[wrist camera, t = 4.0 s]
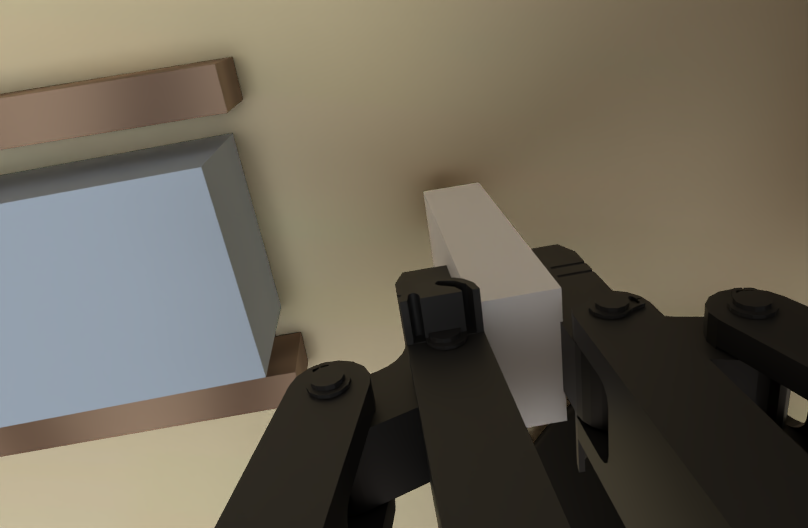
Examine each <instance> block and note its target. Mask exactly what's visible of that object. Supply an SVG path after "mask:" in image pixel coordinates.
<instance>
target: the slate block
mask: <svg viewBox="0 0 808 528" xmlns="http://www.w3.org/2000/svg"><path fill="white" fill-rule="evenodd" d="M280 310H281V304H280V301H279V297H278V294H277V290H276V286H275V283H274V279H273V276H272V272H271V268H270V265H269V261H268V258H267V254H266V251H265V247H264V243H263V240H262V236H261V233H260V229H259V226H258V222H257V218H256V215H255V211H254V208H253V204H252V201H251V197H250V193H249V190H248V186H247V183H246V179H245V175H244V172H243V168H242V165H241V161H240V158H239V154H238V150H237V147H236V143H235V140H234V136H233V133H230V134H224V135H219V136H213V137H208V138H202V139H197V140H191V141H186V142H180V143H175V144H169V145H164V146H158V147H153V148H147V149H142V150H136V151H131V152H125V153H120V154H114V155H109V156H103V157H98V158H92V159H87V160H81V161H76V162H70V163H65V164H59V165H54V166H48V167H43V168H37V169H32V170H26V171H21V172H15V173H10V174H4V175H0V428H1V427H7V426H12V425H17V424H22V423H28V422H33V421H38V420H43V419H49V418H54V417H59V416H64V415H70V414H75V413H80V412H85V411H91V410H96V409H101V408H106V407H112V406H117V405H122V404H127V403H133V402H138V401H143V400H149V399H154V398H159V397H164V396H170V395H175V394H180V393H185V392H191V391H196V390H201V389H206V388H212V387H217V386H222V385H227V384H233V383H238V382H243V381H248V380H254V379H259V378H264V377H266V374H267V370H268V365H269V360H270V356H271V351H272V347H273V342H274V337H275V333H276V328H277V323H278V319H279V314H280Z"/></svg>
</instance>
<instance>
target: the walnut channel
mask: <svg viewBox="0 0 808 528" xmlns="http://www.w3.org/2000/svg"><path fill="white" fill-rule="evenodd" d="M242 100H243V98H242V94H241V90H240V86H239V82H238V78H237V74H236V70H235V66H234V62H233V58H232V57H228V58H222V59H216V60H210V61H203V62H197V63H191V64H185V65H178V66H172V67H166V68H160V69H154V70H147V71H141V72H135V73H129V74H122V75H116V76H110V77H104V78H97V79H91V80H85V81H79V82H73V83H66V84H60V85H54V86H48V87H41V88H35V89H29V90H23V91H17V92H10V93H4V94H0V150H2V149H8V148H14V147H20V146H26V145H32V144H38V143H45V142H51V141H57V140H63V139H69V138H75V137H81V136H88V135H94V134H100V133H106V132H112V131H118V130H124V129H131V128H137V127H143V126H149V125H155V124H161V123H167V122H174V121H180V120H186V119H192V118H198V117H204V116H210V115H217V114H223V113H228V112H229V111H230V110H231V109H232V108H233V107H235V106H236V105H237V104H238V103H239V102H240V101H242ZM307 366H308V359H307V355H306V351H305V347H304V343H303V339H302V335H301V332H299V333H293V334H288V335H282V336H276V337H274V342H273V347H272V351H271V356H270V360H269V365H268V370H267V374H266V377H264V378H259V379H254V380H248V381H243V382H238V383H233V384H227V385H222V386H217V387H212V388H206V389H201V390H196V391H191V392H185V393H180V394H175V395H170V396H164V397H159V398H154V399H149V400H143V401H138V402H133V403H127V404H122V405H117V406H112V407H106V408H101V409H96V410H91V411H85V412H80V413H75V414H70V415H64V416H59V417H54V418H49V419H43V420H38V421H33V422H28V423H22V424H17V425H12V426H7V427H1V428H0V457H2V456H8V455H13V454H19V453H25V452H30V451H36V450H42V449H47V448H53V447H59V446H65V445H70V444H76V443H82V442H87V441H93V440H99V439H104V438H110V437H116V436H121V435H127V434H133V433H139V432H144V431H150V430H156V429H161V428H167V427H173V426H178V425H184V424H190V423H195V422H201V421H207V420H212V419H218V418H224V417H230V416H235V415H241V414H247V413H252V412H258V411H264V410H269V409H275V408H278V406H279V404H280V402H281V400H282V398H283V396H284V394H285V392H286V390H287V389H288V387H289V385H290V384H291V383H292V382H293V380H294V379H295V378H296V377H297V376H298V375H300V374H301V373H303V372H304V371H306V370H307Z"/></svg>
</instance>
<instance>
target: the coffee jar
mask: <svg viewBox="0 0 808 528" xmlns="http://www.w3.org/2000/svg"><path fill="white" fill-rule="evenodd" d="M534 446H535V448H536V450H537V453H538V455H539V457H540V459H541V462H542V464H543V466H544V468H545V471H546V473H547V475H548V477H549V480H550V482H551V484H552V487H553V489H554V491H555V493H556V496H557V498H558V500H559V502H560V505H561V507H562V509H563V512H564V514H565V516H566V518H567V521H568V523H569V525H570V527H571V528H626V527H625V525H624V523H623V521H622V519H621V518H620V516H619V514H618V512H617V510H616V508H615V507H614V505H613V503H612V501H611V499H610V497H609V495H608V494H607V492H606V490H605V488H604V486H603V484H602V482H601V481H600V479H599V477H598V475H597V473H596V471H595V470H594V468H593V466H592V464H591V462H590V460H589V458H588V457H586V459H585V472H580V473H579V470H578V465H577V450H576V422H575V410H574V408H573V406H572V405H569V406H568V407H567V421H562V422H556V423H551V424H549V425H548V426H547V427H546V429H545V430H544V431H543V432H542V433H541V435H540V436H539V437H538V438H537V440H536V441H535V443H534Z"/></svg>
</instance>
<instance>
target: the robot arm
mask: <svg viewBox="0 0 808 528" xmlns="http://www.w3.org/2000/svg"><path fill="white" fill-rule="evenodd" d="M423 193H424V200H425V208H426V215H427V222H428V229H429V237H430V244H431V251H432V259H433V266H434V267H433V268H427V269H421V270H415V271H409V272H403V273H402V274H401V276H400V277H399V279H398V280H397V282H396V284H395V286H396V292H397V298H398V304H399V310H400V316H401V322H402V328H403V334H404V340H405V349H404V351H403V353H402V355H401V356H400V357H399V358H398V359H397V360H396V361H395V362H393V363H392V364H390V365H389V366H388V367H385V368H383V369H381V370H379V371H377V372H374V373H372V374H370V373H369V372H368V371H367V370H366V368H365V367H364V366H362V365H360V364H357V363H355V362H350V361H333V362H325V363H321V364H319V365H316V366H313V367H311V368H309V369H307V370H306V371H304V372H303V373H301V374H300V375H298V376H297V377H296V378H295V379H294V380H293V382H292V383H291V384H290V385H289V387H288V389H287V390H286V392H285V394H284V396H283V398H282V400H281V402H280V404H279V406H278V408H277V409H276V411H275V413H274V415H273V417H272V419H271V421H270V423H269V425H268V427H267V429H266V430H265V432H264V434H263V436H262V438H261V440H260V442H259V444H258V446H257V448H256V450H255V451H254V453H253V455H252V457H251V459H250V461H249V463H248V465H247V467H246V469H245V471H244V472H243V474H242V476H241V478H240V480H239V482H238V484H237V486H236V488H235V490H234V492H233V493H232V495H231V497H230V499H229V501H228V503H227V505H226V507H225V509H224V511H223V513H222V514H221V516H220V518H219V520H218V522H217V524H216V526H215V528H392V525H393V520H394V515H395V498H397V497H399V496H401V495H403V494H405V493H408V492H410V491H412V490H414V489H416V488H418V487H420V486H422V485H424V484H427V483H429V482H430V484H431V490H432V495H433V501H434V506H435V511H436V517H437V522H438V528H571V527H570V525H569V523H568V521H567V518H566V516H565V514H564V512H563V509H562V507H561V505H560V502H559V500H558V498H557V496H556V493H555V491H554V489H553V487H552V484H551V482H550V480H549V477H548V475H547V473H546V471H545V468H544V466H543V464H542V462H541V459H540V457H539V455H538V453H537V450H536V448H535V446H534V443H533V441H532V439H531V437H530V434H529V432H528V430H527V428H529V427H534V426H540V425H545V424H551V423H556V422H562V421H567V406H566V396H567V398H568V399H569V401H570V403H571V405H572V406H573V408H574V410H575V422H576V450H577V465H578V470H579V473H580V472H585V459H586V457H588V458H589V460H590V462H591V464H592V466H593V468H594V470H595V471H596V473H597V475H598V477H599V479H600V481H601V482H602V484H603V486H604V488H605V490H606V492H607V494H608V495H609V497H610V499H611V501H612V503H613V505H614V507H615V508H616V510H617V512H618V514H619V516H620V518H621V519H622V521H623V523H624V525H625V527H626V528H808V414H807V419H806V422H805V423H801V422H799V421H797V420H795V419H793V418H792V417H790V416H788V415H787V412H788V405H789V398H790V391H793V392H795V393H796V394H798V395H800V396H801V397H803V398H805V399H807V400H808V307H807V306H805V305H803V304H801V303H798V302H796V301H794V300H791V299H789V298H787V297H785V296H781V295H778V294H775V293H772V292H769V291H763V290H757V289H755V288H744V289H742V288H734V289H730V290H725V291H720V292H717V293H716V294H714V295H712V296H710V297H709V298H708V300H707V302H706V303H705V314H704V317H669V316H664V315H663V314H662V313H661V312H660V311H659V310H658V309H656V308H655V307H654V306H653V305H652V304H651V303H650V302H649V301H647V300H646V299H644V298H642V297H641V296H638V295H635V294H631V293H628V292H619V291H612V290H611V289H610V288H609V287H608V286H607V285H606V284H605V282H604V281H603V280H602V279H601V278H600V277H599V276H598V275H597V274H596V273H595V272H592V269H591V268H590V267H589V266H588V265H587V264H586V263H584V261H583V259H582V258H581V257H580V256H579V255H578V254H577V253H576V252H575V251H573V250H570V249H568V248H565V247H563V246H560V245H558V244H556V245H551V246H545V247H539V248H533V249H531V248H530V247H529V246H528V245H527V243H526V242H525V241H524V239H523V238H522V237H521V236H520V234H519V233H518V232H517V230H516V229H515V228H514V227H513V225H512V224H511V223H510V222H509V220H508V219H507V218H506V216H505V215H504V214H503V213H502V211H501V210H500V209H499V207H498V206H497V205H496V204H495V202H494V201H493V200H492V198H491V197H490V196H489V195H488V193H487V192H486V191H485V190H484V188H483V187H482V186H481V184H480V183H479V182H477V183H471V184H465V185H459V186H453V187H447V188H441V189H435V190H429V191H423Z"/></svg>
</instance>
